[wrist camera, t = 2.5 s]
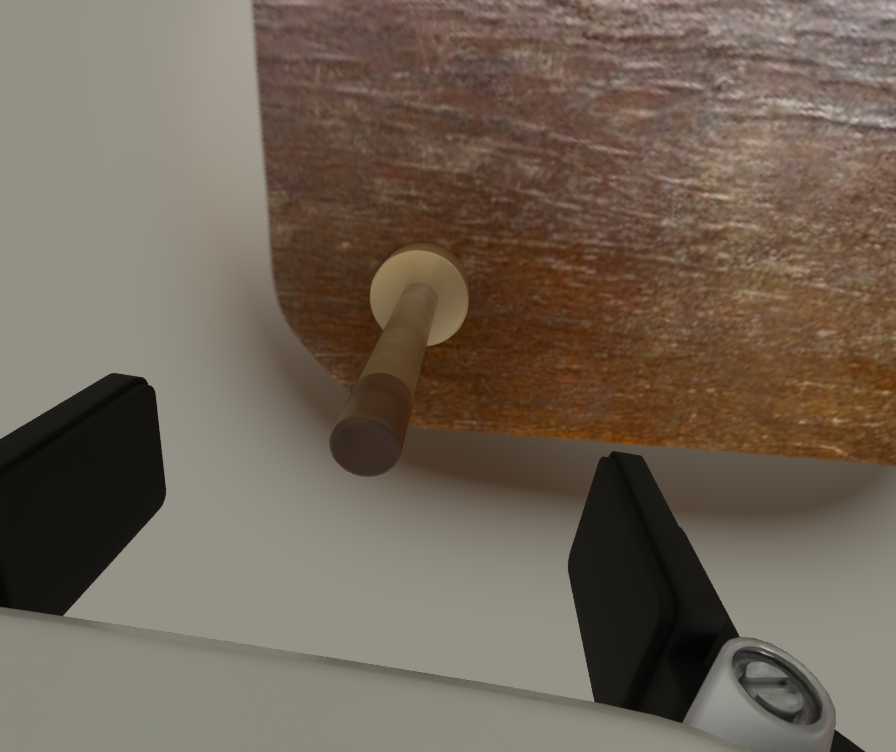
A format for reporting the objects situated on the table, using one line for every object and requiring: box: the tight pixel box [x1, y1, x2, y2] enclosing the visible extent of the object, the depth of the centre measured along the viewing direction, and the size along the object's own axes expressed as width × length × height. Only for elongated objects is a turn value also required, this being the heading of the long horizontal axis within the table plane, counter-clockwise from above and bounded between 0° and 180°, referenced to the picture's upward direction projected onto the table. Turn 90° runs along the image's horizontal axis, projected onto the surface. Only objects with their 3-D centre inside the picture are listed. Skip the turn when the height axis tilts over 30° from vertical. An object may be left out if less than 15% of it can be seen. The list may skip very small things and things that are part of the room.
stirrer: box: [329, 242, 469, 477], centre depth 18 cm, size 4×4×14 cm
